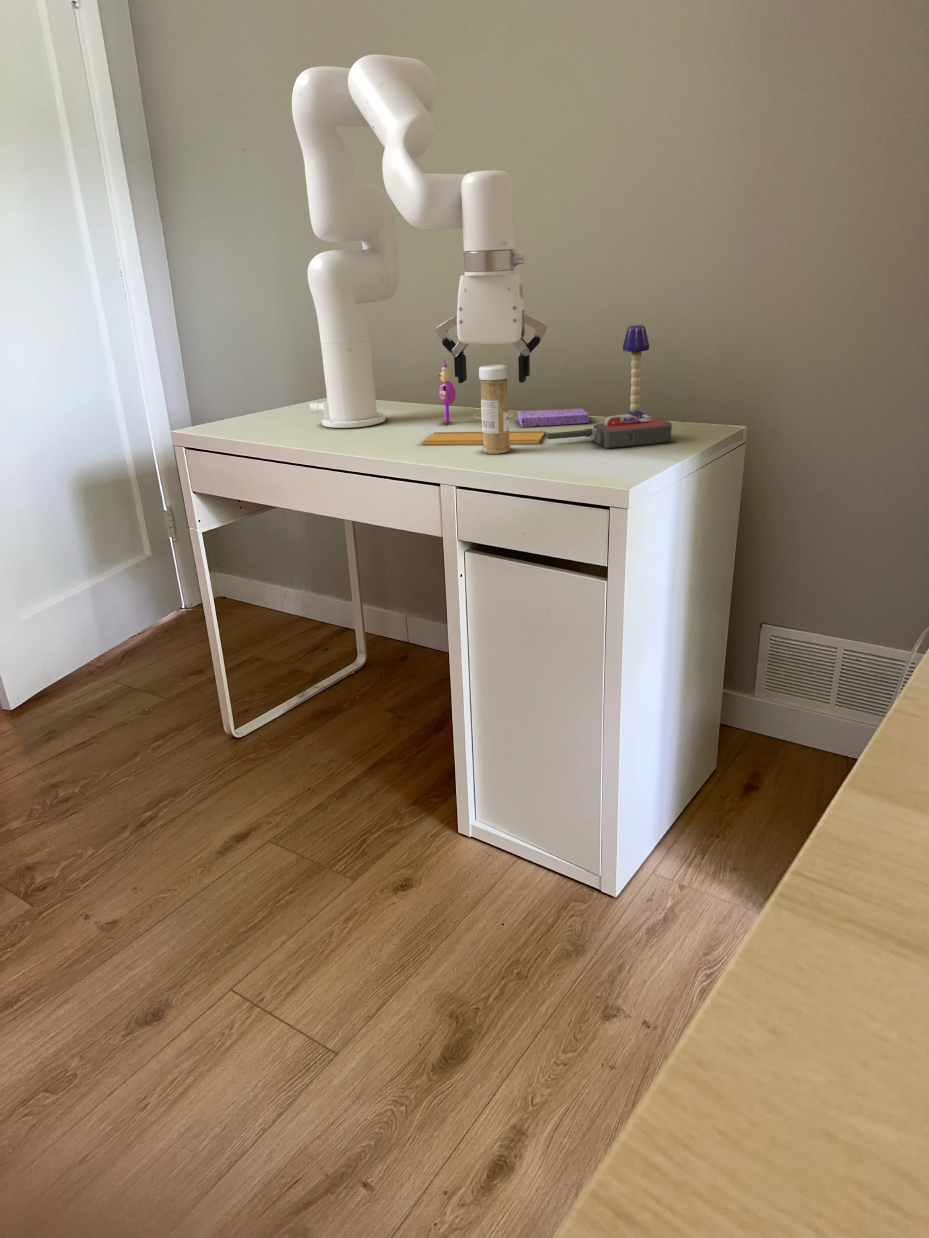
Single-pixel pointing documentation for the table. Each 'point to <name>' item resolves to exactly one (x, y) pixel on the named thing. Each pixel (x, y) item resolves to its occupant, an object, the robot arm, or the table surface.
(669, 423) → the walkie-talkie
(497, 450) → the brown spice jar
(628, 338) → the toy lamp
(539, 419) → the sponge
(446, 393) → the purple clown figurine
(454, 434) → the wooden board
